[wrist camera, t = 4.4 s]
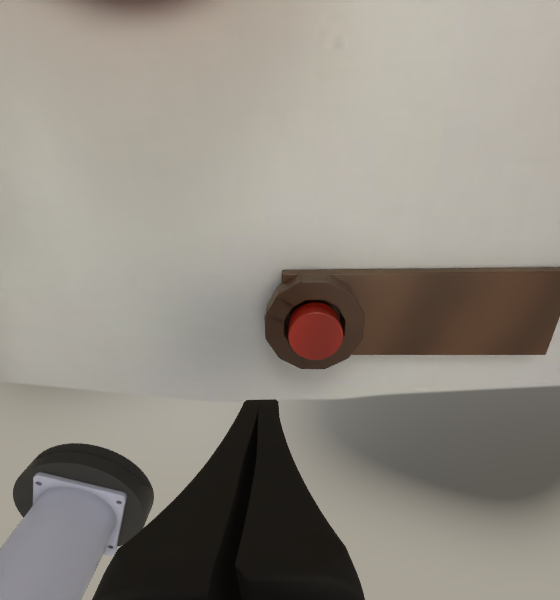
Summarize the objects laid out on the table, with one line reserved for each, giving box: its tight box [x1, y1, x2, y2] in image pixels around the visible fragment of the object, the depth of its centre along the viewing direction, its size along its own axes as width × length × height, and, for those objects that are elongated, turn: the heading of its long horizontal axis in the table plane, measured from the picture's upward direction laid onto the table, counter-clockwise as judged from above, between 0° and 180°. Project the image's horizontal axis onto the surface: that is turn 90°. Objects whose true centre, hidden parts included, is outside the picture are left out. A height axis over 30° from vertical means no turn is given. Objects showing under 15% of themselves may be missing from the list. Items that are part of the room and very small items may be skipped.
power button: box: [288, 302, 343, 360], centre depth 19 cm, size 3×3×2 cm
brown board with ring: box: [265, 268, 560, 369], centre depth 20 cm, size 19×6×2 cm, turn 91°
